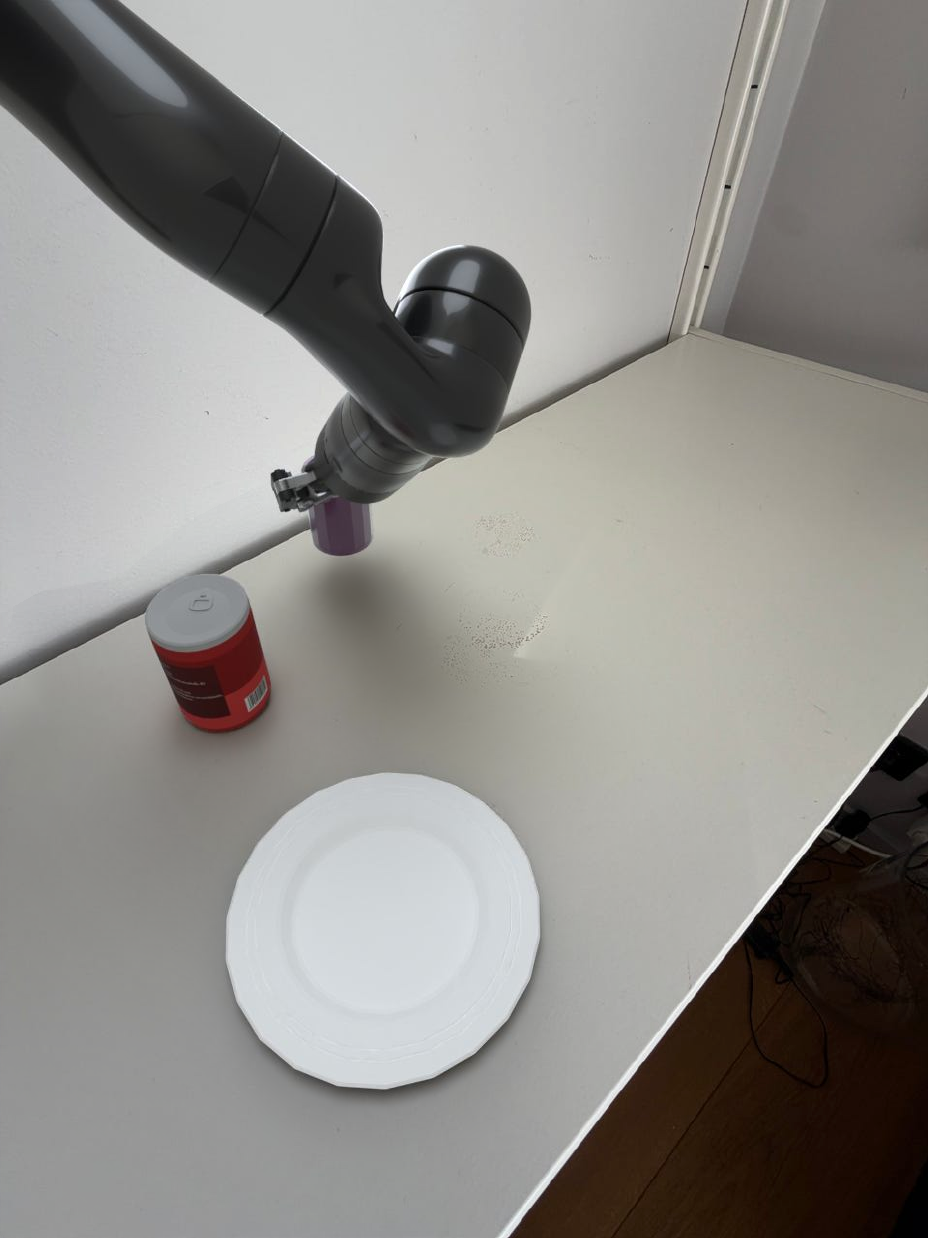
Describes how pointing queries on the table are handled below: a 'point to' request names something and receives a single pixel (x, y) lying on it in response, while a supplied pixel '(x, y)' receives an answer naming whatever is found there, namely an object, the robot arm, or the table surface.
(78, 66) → the robot arm
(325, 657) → the table surface
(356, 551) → the cup
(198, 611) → the canned food
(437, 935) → the plate
